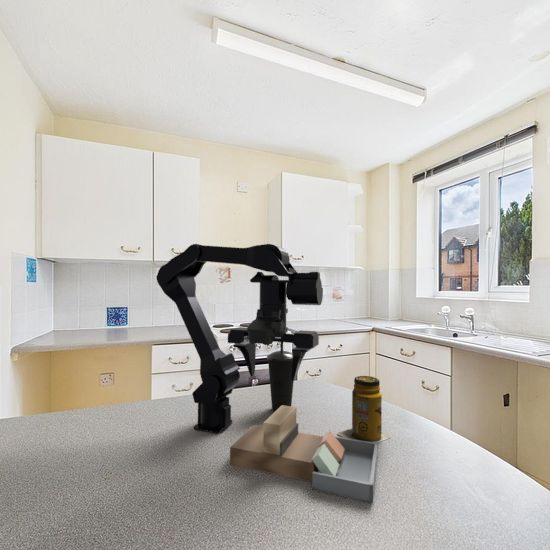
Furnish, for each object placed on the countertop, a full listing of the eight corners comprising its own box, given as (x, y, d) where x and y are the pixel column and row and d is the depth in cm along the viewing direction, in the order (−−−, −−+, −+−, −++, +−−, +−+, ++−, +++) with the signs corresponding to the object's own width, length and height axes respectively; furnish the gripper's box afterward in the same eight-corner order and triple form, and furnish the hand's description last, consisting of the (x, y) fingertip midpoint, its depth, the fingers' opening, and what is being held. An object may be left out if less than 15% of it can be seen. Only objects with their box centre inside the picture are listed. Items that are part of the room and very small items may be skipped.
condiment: (390, 438, 69) (390, 380, 70) (362, 448, 65) (362, 386, 65) (363, 425, 75) (363, 372, 76) (336, 434, 71) (336, 377, 71)
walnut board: (229, 464, 58) (230, 447, 59) (252, 439, 68) (253, 425, 68) (313, 482, 53) (313, 463, 53) (325, 453, 63) (325, 436, 63)
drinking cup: (268, 403, 89) (269, 328, 90) (297, 405, 88) (297, 329, 89) (264, 414, 81) (264, 332, 82) (295, 416, 80) (295, 333, 81)
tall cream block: (263, 451, 57) (263, 422, 57) (281, 430, 65) (281, 405, 65) (281, 455, 56) (282, 425, 56) (298, 433, 64) (298, 407, 64)
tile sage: (311, 459, 54) (318, 454, 53) (317, 448, 57) (324, 443, 57) (327, 482, 53) (334, 477, 52) (332, 469, 56) (339, 464, 56)
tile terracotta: (319, 444, 59) (325, 439, 59) (324, 435, 63) (329, 430, 62) (335, 464, 58) (341, 459, 58) (338, 453, 62) (344, 448, 61)
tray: (312, 489, 51) (312, 473, 51) (329, 448, 64) (329, 435, 65) (372, 503, 48) (372, 485, 48) (377, 456, 61) (377, 443, 61)
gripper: (215, 304, 66) (213, 384, 66) (305, 307, 60) (305, 395, 59) (239, 302, 77) (238, 370, 76) (319, 304, 70) (319, 379, 70)
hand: (272, 378), depth 70 cm, fingers open, 9 cm apart
